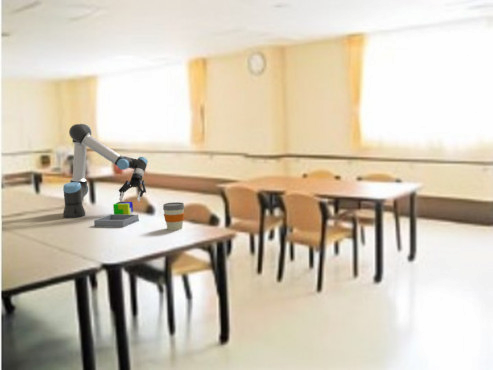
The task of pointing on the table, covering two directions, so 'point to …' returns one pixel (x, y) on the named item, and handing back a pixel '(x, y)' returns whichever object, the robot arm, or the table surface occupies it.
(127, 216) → the tray
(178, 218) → the reusable coffee cup
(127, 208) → the puzzle toy
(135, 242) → the table surface
